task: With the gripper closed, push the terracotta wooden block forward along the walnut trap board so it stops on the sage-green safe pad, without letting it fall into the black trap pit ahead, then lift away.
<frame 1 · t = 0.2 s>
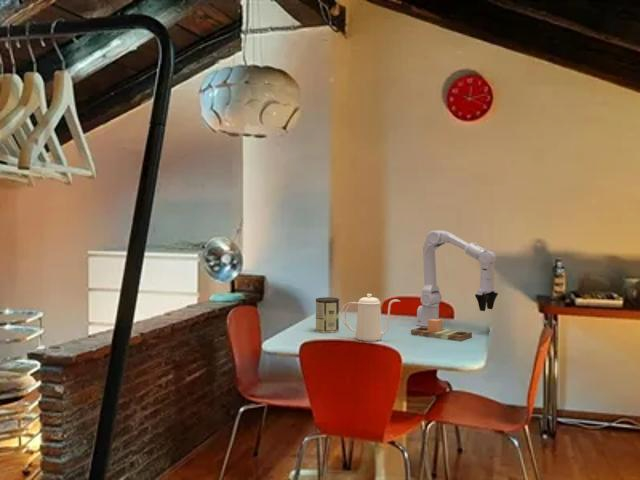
hand: (486, 309, 307), 10 cm above the table, tool pointing down, fingers open, 7 cm apart
trap board: (441, 335, 299), on the table
block: (434, 330, 300), point 2 cm above the table, touching trap board
coffee can: (327, 331, 309), on the table
coffeepot: (369, 339, 290), on the table
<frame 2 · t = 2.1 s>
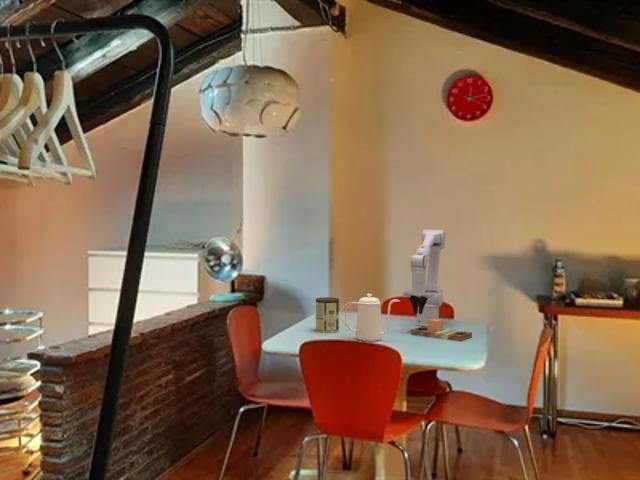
hand: (418, 313, 305), 8 cm above the table, tool pointing down, fingers closed
nothing on the table moved.
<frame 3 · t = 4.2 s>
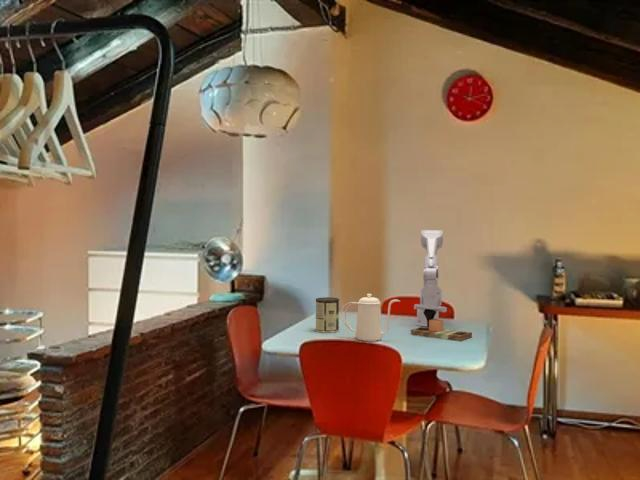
hand: (429, 327, 302), 3 cm above the table, tool pointing down, fingers closed
block: (435, 330, 300), point 2 cm above the table, touching gripper, trap board
everything else where it was.
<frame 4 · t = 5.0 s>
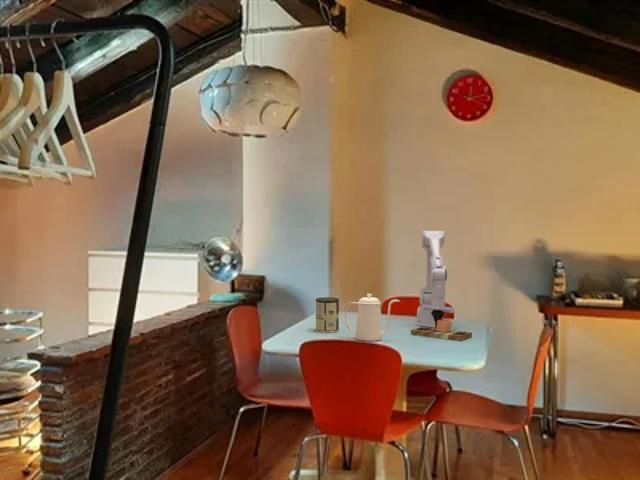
hand: (437, 328, 299), 3 cm above the table, tool pointing down, fingers closed, pressing on block
block: (443, 330, 298), point 2 cm above the table, tilted 7°, touching gripper, trap board
everything else where it was.
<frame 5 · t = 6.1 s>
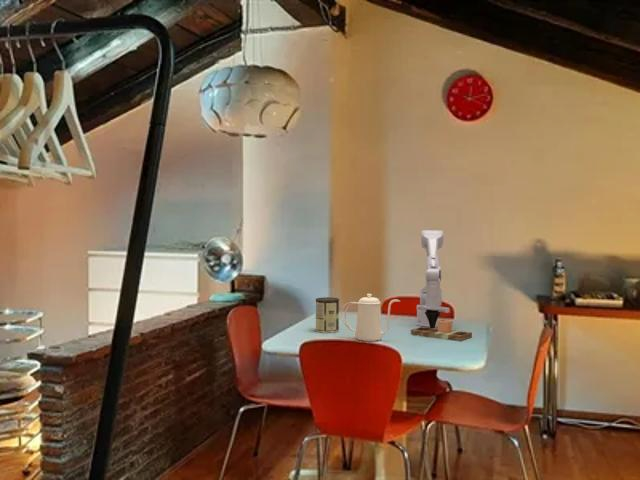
hand: (432, 327, 301), 3 cm above the table, tool pointing down, fingers closed
block: (444, 331, 298), point 2 cm above the table, touching trap board
everything else where it was.
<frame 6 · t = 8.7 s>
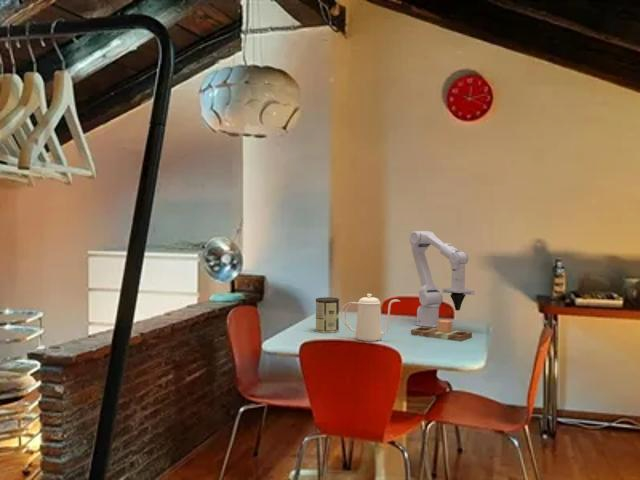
hand: (457, 310, 309), 9 cm above the table, tool pointing down, fingers closed
nothing on the table moved.
at the end: block 1.1 cm from the target spot, point 2.0 cm above the table; block tilted 0° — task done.
